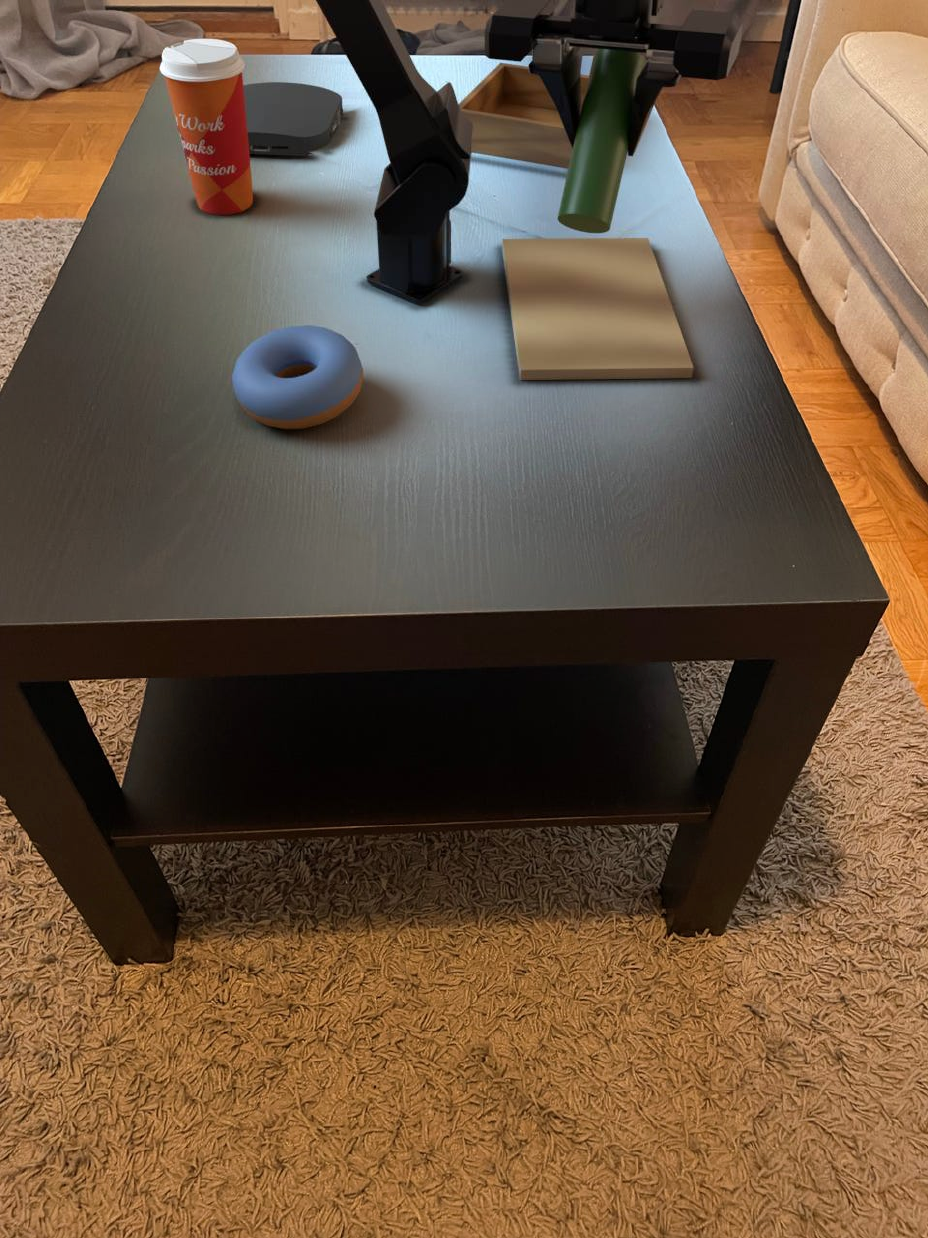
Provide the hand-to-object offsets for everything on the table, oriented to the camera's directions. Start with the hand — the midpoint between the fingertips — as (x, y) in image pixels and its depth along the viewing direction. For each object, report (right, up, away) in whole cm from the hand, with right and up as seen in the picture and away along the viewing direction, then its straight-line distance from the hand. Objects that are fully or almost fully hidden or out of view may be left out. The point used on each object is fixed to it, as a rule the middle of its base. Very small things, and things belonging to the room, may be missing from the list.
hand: (604, 150), depth 80 cm
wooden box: (-4, +16, +30) cm, 35 cm away
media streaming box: (-33, +17, +31) cm, 49 cm away
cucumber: (-2, -6, -1) cm, 7 cm away
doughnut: (-24, -22, -4) cm, 33 cm away
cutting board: (0, -11, +6) cm, 13 cm away
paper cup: (-36, +4, +19) cm, 41 cm away
